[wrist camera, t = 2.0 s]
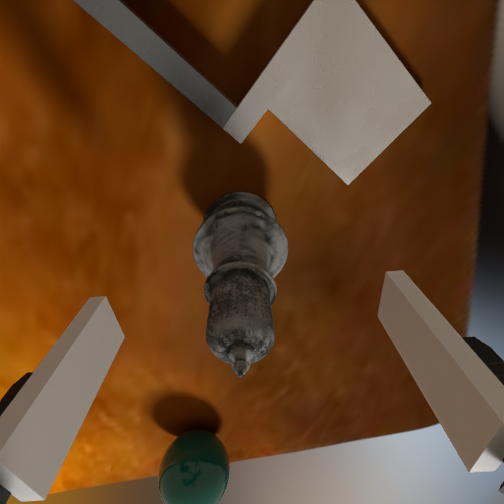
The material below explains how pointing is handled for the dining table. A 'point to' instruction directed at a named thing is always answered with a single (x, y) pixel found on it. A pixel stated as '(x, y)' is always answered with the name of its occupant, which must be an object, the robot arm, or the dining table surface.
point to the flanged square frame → (298, 82)
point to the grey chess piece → (240, 276)
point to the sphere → (194, 469)
